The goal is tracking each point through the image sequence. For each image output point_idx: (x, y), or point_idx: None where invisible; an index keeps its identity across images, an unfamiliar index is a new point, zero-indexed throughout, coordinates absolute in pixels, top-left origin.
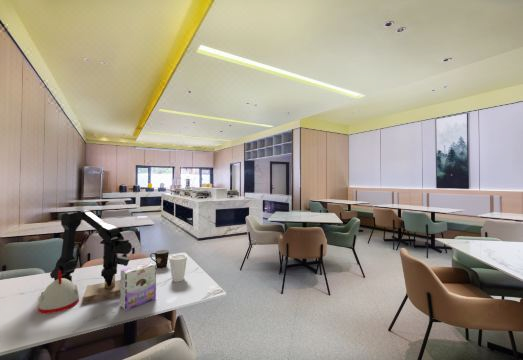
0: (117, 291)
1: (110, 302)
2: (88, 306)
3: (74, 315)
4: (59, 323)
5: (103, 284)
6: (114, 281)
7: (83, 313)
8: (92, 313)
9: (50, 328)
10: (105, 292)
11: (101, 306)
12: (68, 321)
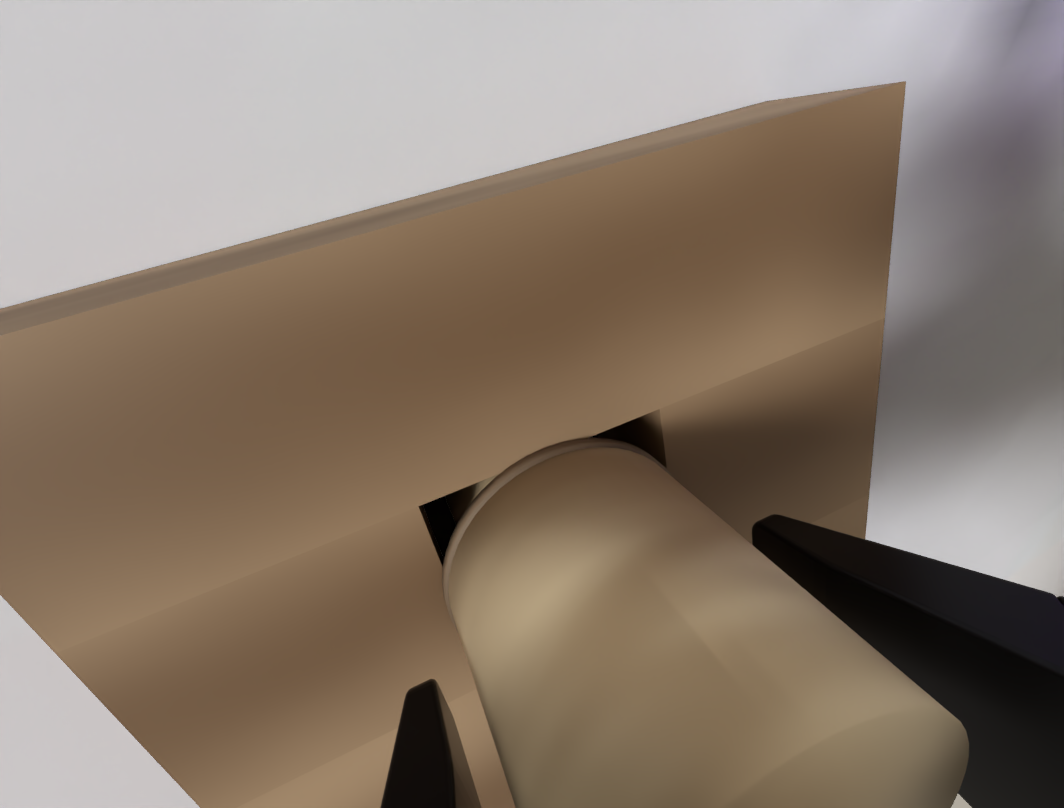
0: (868, 244)
1: (909, 283)
2: (868, 530)
3: (978, 550)
4: (1032, 580)
5: (372, 776)
6: (695, 526)
7: (991, 489)
8: (1047, 393)
9: (1059, 592)
10: (850, 481)
11: (953, 367)
12: (1046, 532)
